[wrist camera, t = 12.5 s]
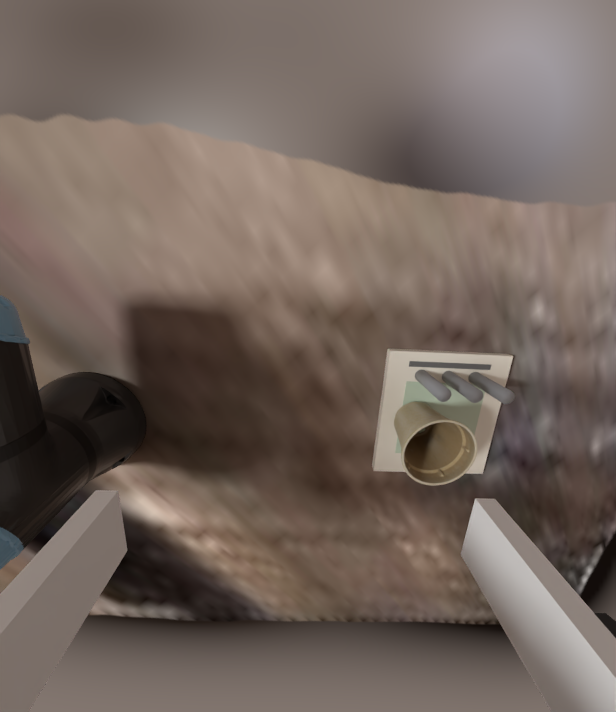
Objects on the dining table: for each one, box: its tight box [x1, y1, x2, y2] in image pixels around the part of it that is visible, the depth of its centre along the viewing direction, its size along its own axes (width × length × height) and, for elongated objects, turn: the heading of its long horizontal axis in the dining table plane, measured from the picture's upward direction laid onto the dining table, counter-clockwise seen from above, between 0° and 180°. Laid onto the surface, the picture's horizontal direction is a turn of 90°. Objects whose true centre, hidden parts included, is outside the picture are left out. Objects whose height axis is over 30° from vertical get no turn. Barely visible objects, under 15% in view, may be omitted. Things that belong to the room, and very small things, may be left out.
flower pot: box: [394, 402, 478, 485], centre depth 40 cm, size 9×9×9 cm
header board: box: [372, 349, 515, 474], centre depth 41 cm, size 18×20×8 cm
